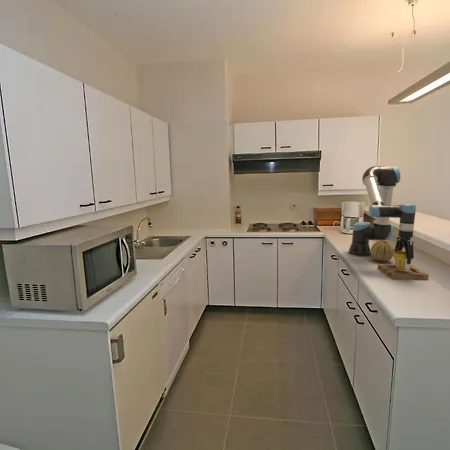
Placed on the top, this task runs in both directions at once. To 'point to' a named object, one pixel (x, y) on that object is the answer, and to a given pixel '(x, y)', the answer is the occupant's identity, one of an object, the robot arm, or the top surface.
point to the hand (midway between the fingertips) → (402, 266)
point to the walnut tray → (402, 272)
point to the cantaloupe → (382, 251)
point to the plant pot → (400, 259)
